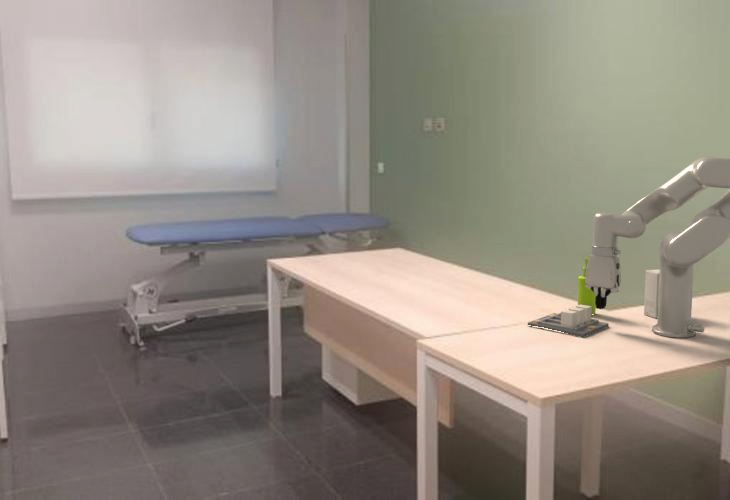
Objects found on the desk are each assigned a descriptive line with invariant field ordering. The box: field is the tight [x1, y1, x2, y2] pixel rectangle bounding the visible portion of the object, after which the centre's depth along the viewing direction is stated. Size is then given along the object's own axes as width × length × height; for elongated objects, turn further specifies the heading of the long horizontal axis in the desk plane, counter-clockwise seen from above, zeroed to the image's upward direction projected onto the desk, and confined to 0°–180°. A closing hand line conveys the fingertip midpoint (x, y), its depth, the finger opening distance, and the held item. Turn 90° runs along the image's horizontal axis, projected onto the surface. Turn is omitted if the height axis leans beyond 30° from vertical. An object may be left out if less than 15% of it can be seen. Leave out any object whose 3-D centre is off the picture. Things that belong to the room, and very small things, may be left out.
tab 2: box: [567, 306, 584, 325], centre depth 221 cm, size 4×3×5 cm
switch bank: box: [527, 312, 610, 338], centre depth 223 cm, size 20×16×2 cm
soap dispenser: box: [577, 256, 597, 315], centre depth 236 cm, size 6×7×20 cm
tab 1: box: [560, 309, 577, 328], centre depth 218 cm, size 4×3×5 cm
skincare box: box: [643, 269, 660, 319], centre depth 232 cm, size 8×7×16 cm
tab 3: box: [575, 304, 592, 322], centre depth 224 cm, size 4×3×5 cm
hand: (600, 308), depth 218 cm, fingers closed
